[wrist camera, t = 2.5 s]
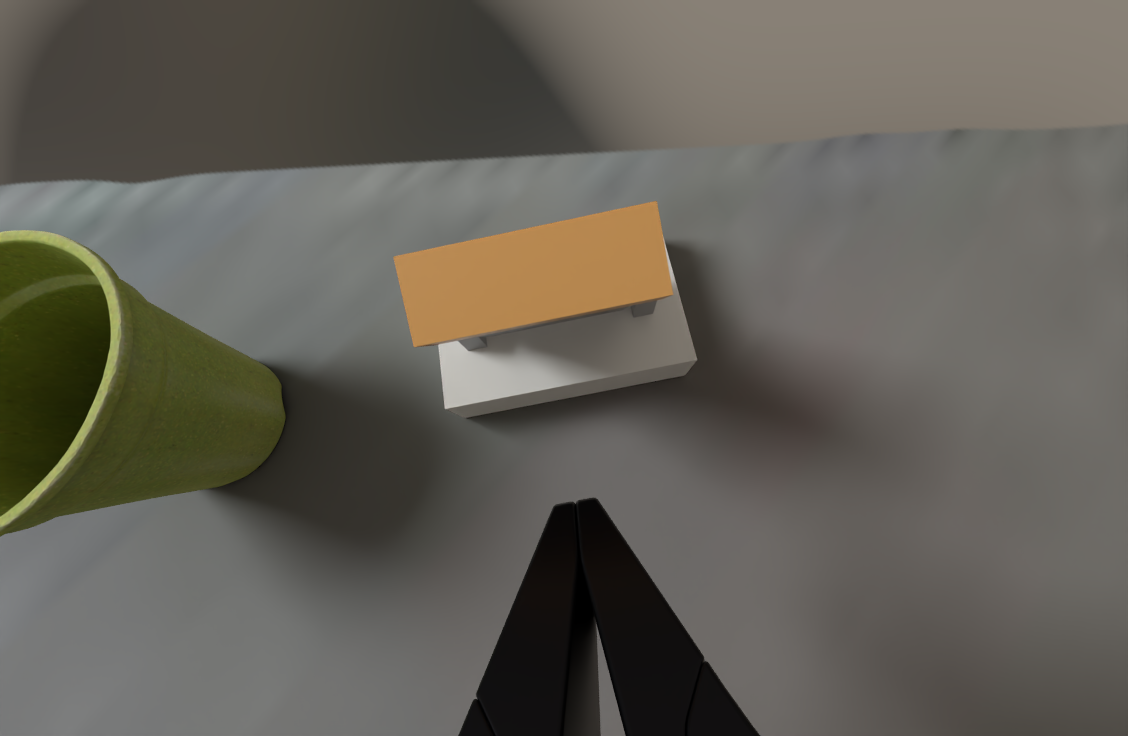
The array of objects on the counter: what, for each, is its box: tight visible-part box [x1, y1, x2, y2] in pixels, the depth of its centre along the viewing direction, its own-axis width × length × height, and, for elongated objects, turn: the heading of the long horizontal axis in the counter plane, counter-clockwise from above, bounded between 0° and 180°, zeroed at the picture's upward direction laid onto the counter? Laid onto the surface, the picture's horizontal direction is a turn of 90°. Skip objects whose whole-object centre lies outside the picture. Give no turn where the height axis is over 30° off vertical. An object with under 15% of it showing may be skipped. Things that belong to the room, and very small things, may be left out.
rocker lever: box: [394, 201, 673, 347], centre depth 12 cm, size 2×5×8 cm, turn 100°
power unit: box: [439, 238, 697, 418], centre depth 17 cm, size 7×10×4 cm
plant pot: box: [0, 230, 286, 536], centre depth 16 cm, size 9×9×9 cm
